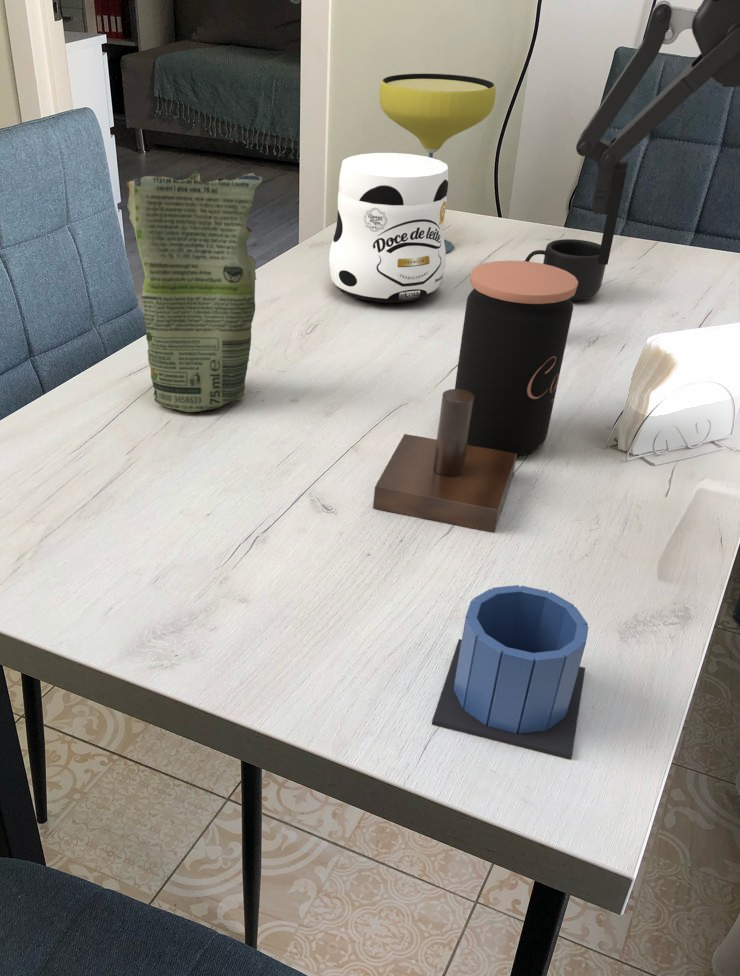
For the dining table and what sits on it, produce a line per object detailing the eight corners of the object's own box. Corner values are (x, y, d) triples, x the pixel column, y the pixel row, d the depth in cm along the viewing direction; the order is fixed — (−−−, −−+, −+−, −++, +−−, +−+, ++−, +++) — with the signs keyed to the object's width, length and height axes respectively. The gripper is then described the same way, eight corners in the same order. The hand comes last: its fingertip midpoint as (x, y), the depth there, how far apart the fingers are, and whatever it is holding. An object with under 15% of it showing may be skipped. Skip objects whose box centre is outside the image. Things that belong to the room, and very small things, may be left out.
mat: (584, 671, 74) (585, 667, 73) (570, 759, 66) (572, 755, 66) (458, 642, 76) (459, 638, 76) (431, 724, 69) (432, 720, 68)
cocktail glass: (486, 239, 165) (508, 79, 150) (457, 268, 152) (479, 96, 137) (389, 225, 171) (401, 70, 156) (353, 252, 158) (363, 85, 143)
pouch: (132, 397, 111) (113, 172, 96) (202, 367, 119) (195, 153, 104) (200, 426, 106) (191, 191, 91) (269, 393, 113) (271, 170, 98)
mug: (593, 287, 146) (603, 240, 142) (603, 307, 139) (614, 258, 135) (515, 283, 147) (523, 236, 143) (521, 303, 140) (529, 254, 136)
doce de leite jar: (411, 320, 133) (424, 186, 122) (306, 296, 140) (310, 167, 129) (460, 287, 145) (476, 161, 134) (361, 266, 152) (369, 145, 141)
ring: (573, 671, 73) (592, 600, 69) (561, 745, 67) (581, 671, 62) (466, 647, 75) (478, 576, 71) (444, 716, 69) (456, 642, 64)
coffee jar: (527, 470, 99) (561, 302, 88) (434, 445, 103) (454, 281, 92) (557, 431, 107) (591, 271, 96) (468, 409, 111) (491, 253, 100)
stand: (513, 474, 98) (530, 380, 92) (494, 532, 89) (512, 433, 83) (402, 454, 101) (411, 362, 95) (372, 508, 92) (381, 410, 86)
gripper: (573, -90, 57) (521, 266, 69) (1050, -87, 50) (895, 303, 63) (583, -92, 62) (533, 237, 75) (1012, -90, 56) (877, 269, 69)
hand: (698, 268), depth 69 cm, fingers open, 13 cm apart
